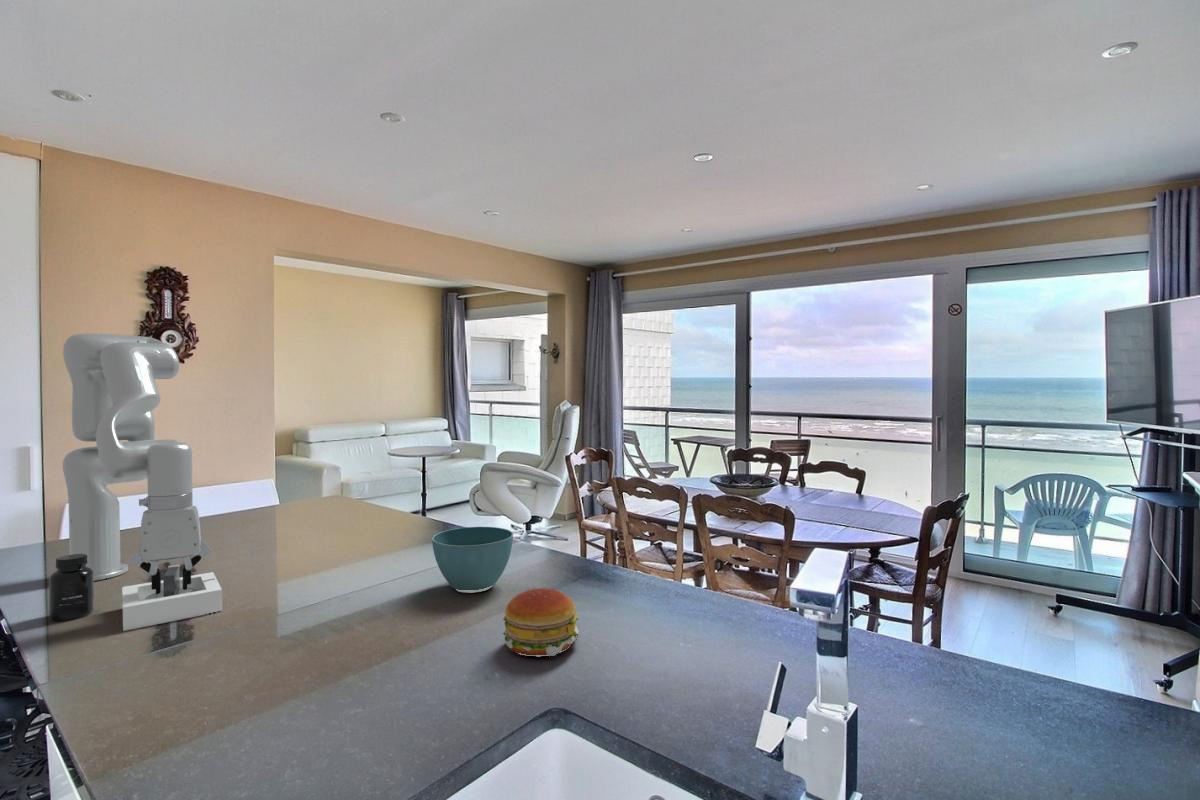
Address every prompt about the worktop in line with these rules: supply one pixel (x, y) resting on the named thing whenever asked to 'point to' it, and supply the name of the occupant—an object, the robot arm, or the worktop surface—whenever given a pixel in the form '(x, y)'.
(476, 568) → the teal bowl
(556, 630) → the burger
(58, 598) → the supplement bottle
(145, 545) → the robot arm
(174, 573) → the dial
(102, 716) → the worktop surface
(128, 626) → the dial housing
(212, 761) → the worktop surface
